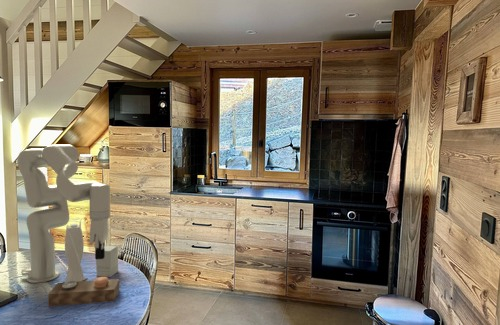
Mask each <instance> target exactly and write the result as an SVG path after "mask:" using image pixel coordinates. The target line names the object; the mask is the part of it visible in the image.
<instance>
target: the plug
mask: <svg viewBox="0 0 500 325" xmlns="http://www.w3.org/2000/svg"><path fill="white" fill-rule="evenodd" d="M62 283H63V282H62ZM76 286H77V282H76V281H69V282H65V283H63V284H62V288H63V289H62V290H72V289H75V287H76Z"/></svg>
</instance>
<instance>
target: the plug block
mask: <svg viewBox="0 0 500 325" xmlns="http://www.w3.org/2000/svg"><path fill="white" fill-rule="evenodd" d="M63 283H65V282H64V281H62V282H57V284H55V286H53V288H52V289H51V290H50V291H49V292H48V294H47V299H48V300H47V304H48V307H49V308H50V307H59V306H74V305H85V304H86V305H87V304H98V303H100V304H101V303H114V302H115V301H116V298H117V297H118V294H119V292H120V278H111V279H109V278H108V285H107V287H101V288H95V283H94V280H84V281H78V282H77V286H76V287H75V289H72V290H62V289H63V288H62V284H63Z"/></svg>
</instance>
